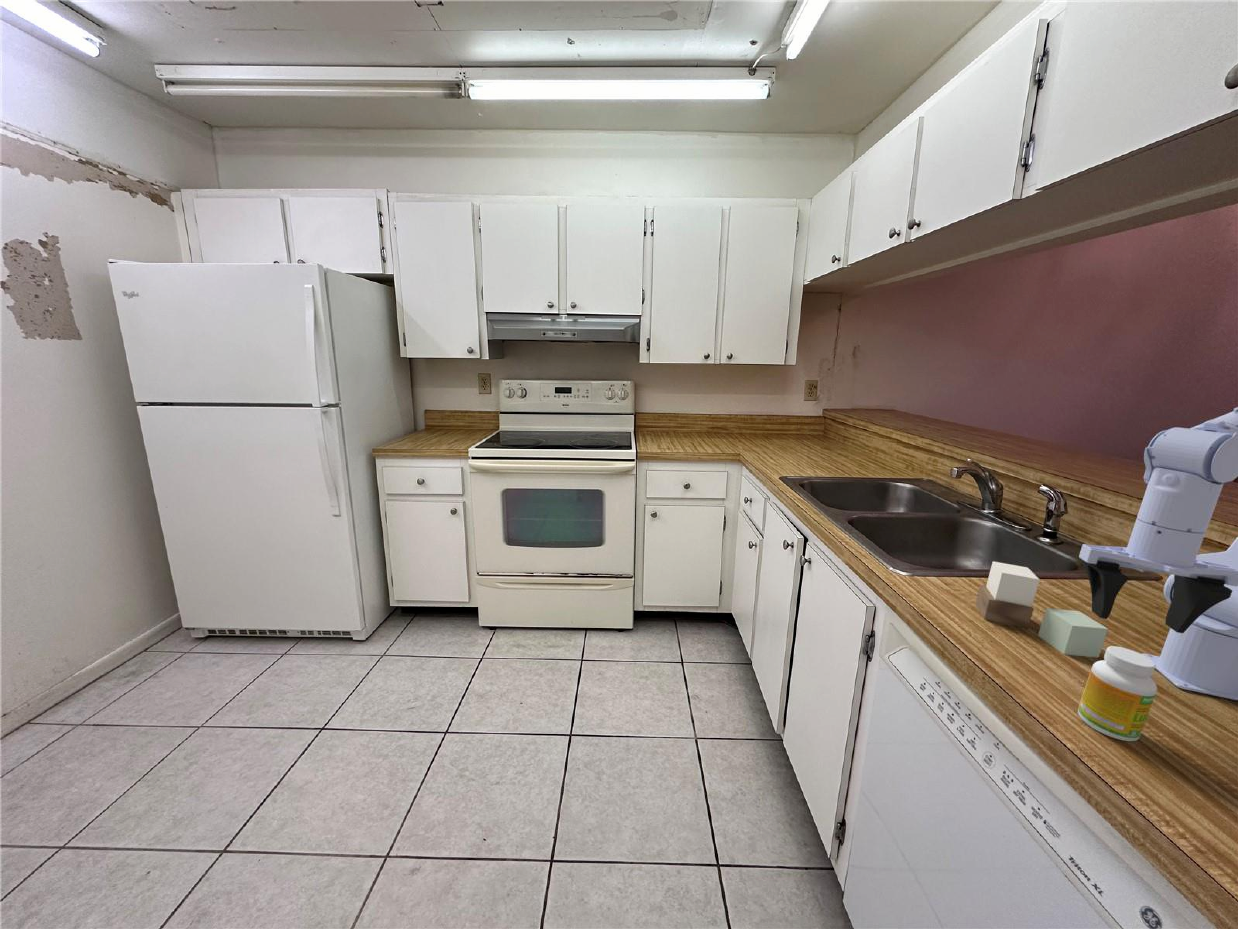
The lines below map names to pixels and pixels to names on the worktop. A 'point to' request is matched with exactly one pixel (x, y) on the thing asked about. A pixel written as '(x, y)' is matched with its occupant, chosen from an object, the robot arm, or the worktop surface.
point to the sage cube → (1072, 632)
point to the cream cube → (1012, 583)
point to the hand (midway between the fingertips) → (1135, 621)
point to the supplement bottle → (1119, 694)
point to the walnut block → (1002, 610)
